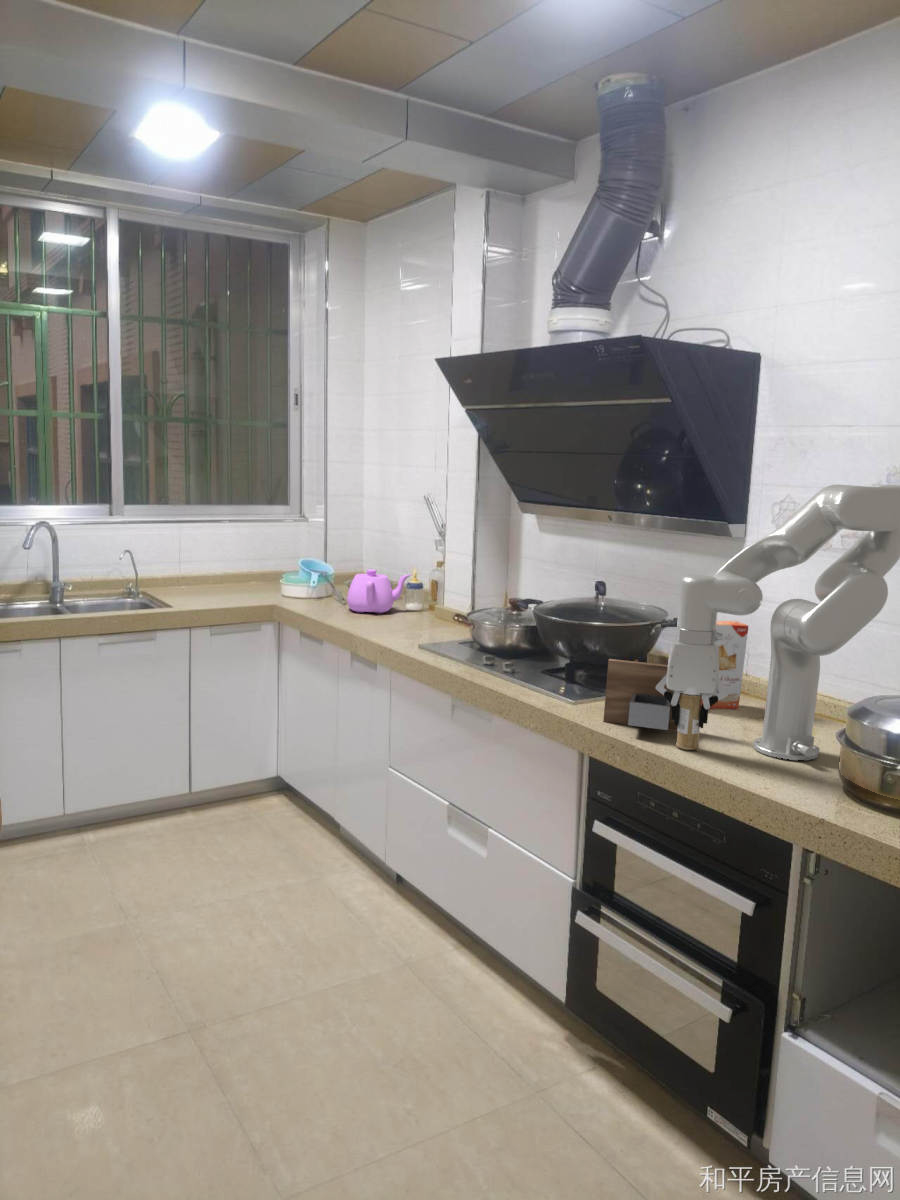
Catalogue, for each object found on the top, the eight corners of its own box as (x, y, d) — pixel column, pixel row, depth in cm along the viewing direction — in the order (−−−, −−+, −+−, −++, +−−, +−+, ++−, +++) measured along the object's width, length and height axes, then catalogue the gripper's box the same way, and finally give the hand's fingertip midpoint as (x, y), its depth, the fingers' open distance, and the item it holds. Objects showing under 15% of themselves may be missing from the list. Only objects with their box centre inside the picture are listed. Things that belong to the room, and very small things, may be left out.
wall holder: (695, 745, 189) (702, 679, 187) (598, 732, 194) (604, 668, 192) (696, 731, 199) (702, 668, 197) (604, 719, 204) (609, 658, 202)
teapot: (344, 615, 317) (346, 572, 314) (348, 605, 337) (349, 565, 335) (410, 618, 318) (412, 576, 316) (409, 608, 339) (411, 568, 336)
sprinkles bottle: (701, 750, 184) (706, 686, 182) (679, 750, 184) (684, 685, 182) (694, 743, 189) (699, 680, 187) (672, 743, 188) (677, 680, 186)
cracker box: (686, 710, 217) (694, 623, 213) (675, 703, 222) (683, 618, 219) (740, 709, 219) (749, 624, 216) (728, 703, 225) (736, 619, 222)
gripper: (738, 637, 184) (731, 724, 187) (653, 630, 189) (647, 715, 191) (740, 644, 177) (732, 734, 180) (651, 636, 181) (645, 725, 184)
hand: (688, 724), depth 186 cm, fingers closed on sprinkles bottle, 4 cm apart
